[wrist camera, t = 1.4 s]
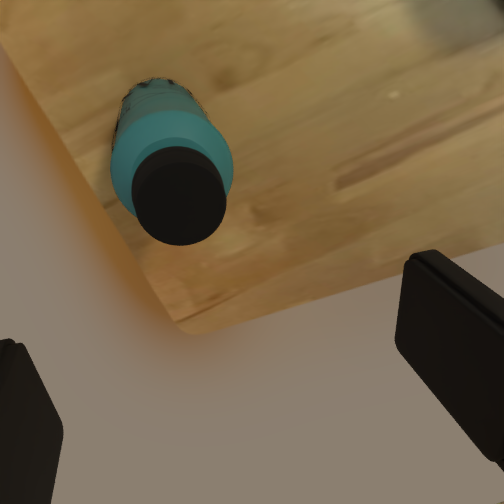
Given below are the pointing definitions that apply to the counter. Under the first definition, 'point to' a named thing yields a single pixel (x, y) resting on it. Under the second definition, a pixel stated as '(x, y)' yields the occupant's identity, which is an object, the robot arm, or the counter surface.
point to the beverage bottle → (170, 163)
